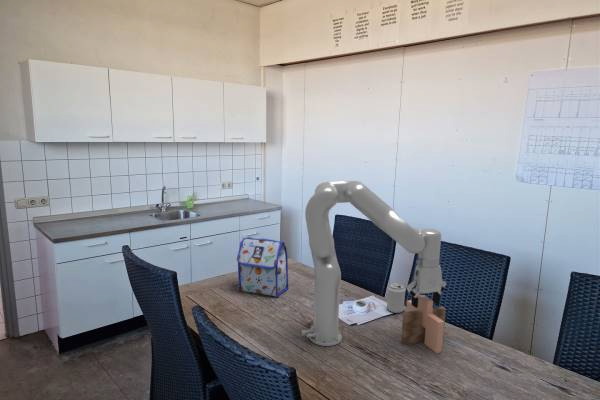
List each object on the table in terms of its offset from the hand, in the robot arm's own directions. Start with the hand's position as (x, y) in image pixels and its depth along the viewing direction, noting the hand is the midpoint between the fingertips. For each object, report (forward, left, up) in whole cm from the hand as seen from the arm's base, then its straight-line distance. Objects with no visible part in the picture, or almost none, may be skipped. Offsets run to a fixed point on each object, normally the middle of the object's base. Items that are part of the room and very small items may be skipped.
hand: (425, 304), depth 155 cm
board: (0, 0, -14) cm, 14 cm away
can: (+4, +26, -14) cm, 30 cm away
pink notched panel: (0, 0, -14) cm, 14 cm away
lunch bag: (-48, +65, -15) cm, 82 cm away
